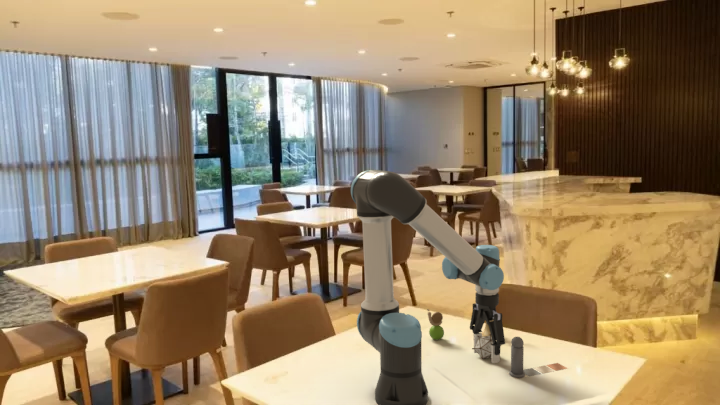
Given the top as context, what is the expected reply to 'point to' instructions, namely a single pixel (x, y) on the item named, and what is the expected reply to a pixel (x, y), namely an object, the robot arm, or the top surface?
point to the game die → (484, 346)
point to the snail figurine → (436, 325)
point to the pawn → (517, 358)
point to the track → (542, 369)
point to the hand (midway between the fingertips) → (486, 357)
